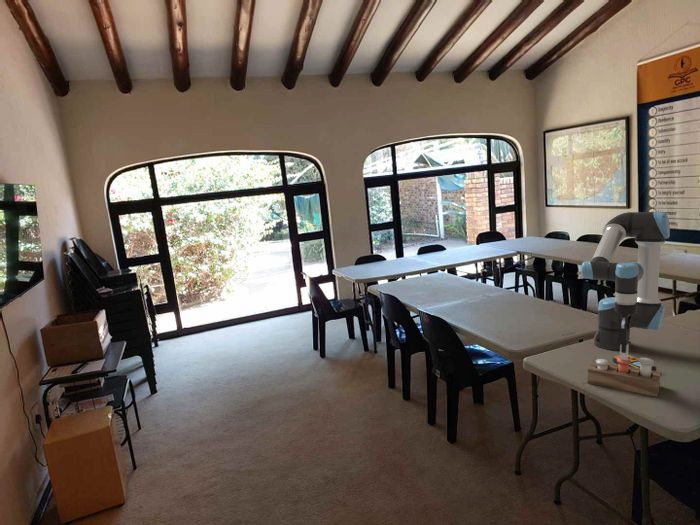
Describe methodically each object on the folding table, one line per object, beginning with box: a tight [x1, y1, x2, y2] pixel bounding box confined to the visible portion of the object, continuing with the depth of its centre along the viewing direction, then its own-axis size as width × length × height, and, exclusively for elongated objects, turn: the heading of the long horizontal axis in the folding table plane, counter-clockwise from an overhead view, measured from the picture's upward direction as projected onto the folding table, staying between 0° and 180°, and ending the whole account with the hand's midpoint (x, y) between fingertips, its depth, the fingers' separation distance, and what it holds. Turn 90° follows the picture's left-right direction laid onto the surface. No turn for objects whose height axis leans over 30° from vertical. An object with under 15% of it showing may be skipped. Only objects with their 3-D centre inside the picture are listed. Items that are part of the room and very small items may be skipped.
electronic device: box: [612, 354, 657, 371], centre depth 200 cm, size 8×16×3 cm, turn 14°
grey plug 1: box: [595, 358, 610, 370], centre depth 189 cm, size 5×5×8 cm
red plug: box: [617, 357, 631, 374], centre depth 184 cm, size 5×5×8 cm
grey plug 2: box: [638, 357, 654, 378], centre depth 180 cm, size 5×5×8 cm
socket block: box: [587, 360, 661, 397], centre depth 185 cm, size 10×24×6 cm, turn 52°
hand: (623, 359), depth 184 cm, fingers closed
